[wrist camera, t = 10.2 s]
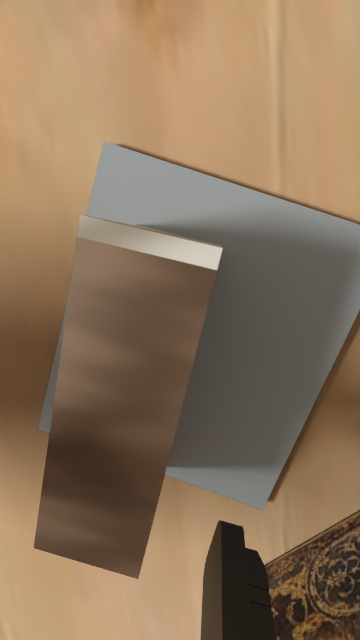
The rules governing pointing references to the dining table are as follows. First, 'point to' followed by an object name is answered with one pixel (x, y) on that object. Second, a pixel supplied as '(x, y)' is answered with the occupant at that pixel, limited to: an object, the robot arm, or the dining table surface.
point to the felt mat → (241, 315)
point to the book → (319, 586)
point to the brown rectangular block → (120, 388)
